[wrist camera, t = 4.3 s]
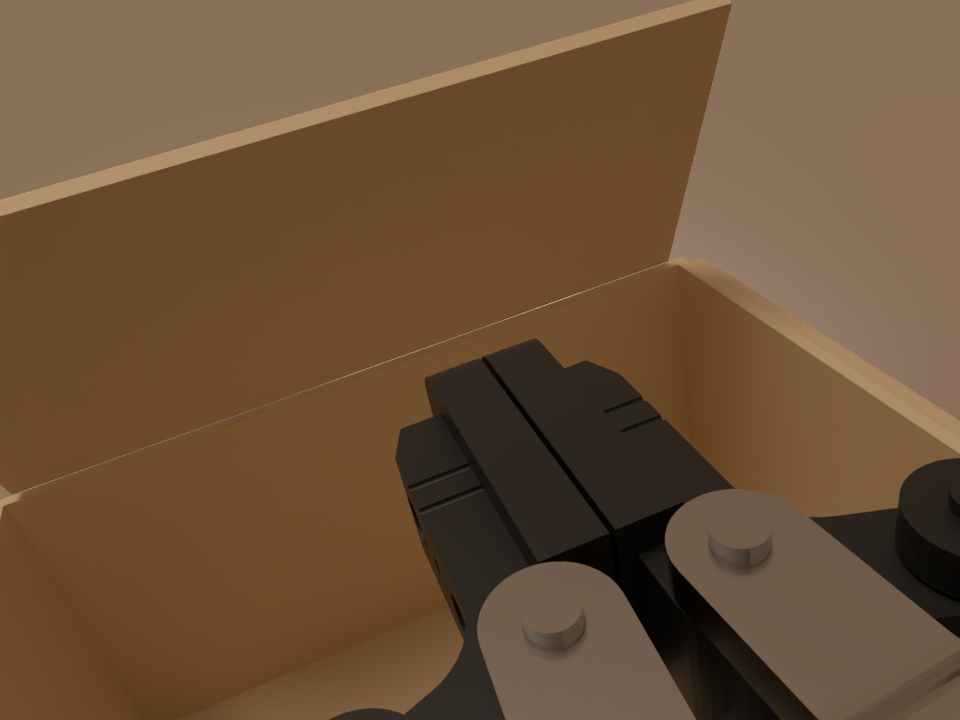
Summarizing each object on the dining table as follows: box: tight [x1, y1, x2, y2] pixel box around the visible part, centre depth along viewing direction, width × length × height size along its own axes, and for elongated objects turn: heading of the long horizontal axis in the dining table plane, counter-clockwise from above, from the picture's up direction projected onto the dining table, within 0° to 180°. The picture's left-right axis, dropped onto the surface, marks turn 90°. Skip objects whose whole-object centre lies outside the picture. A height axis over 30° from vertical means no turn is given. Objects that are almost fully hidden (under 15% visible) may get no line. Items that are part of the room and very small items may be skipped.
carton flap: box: [0, 0, 732, 494], centre depth 24 cm, size 22×10×1 cm
